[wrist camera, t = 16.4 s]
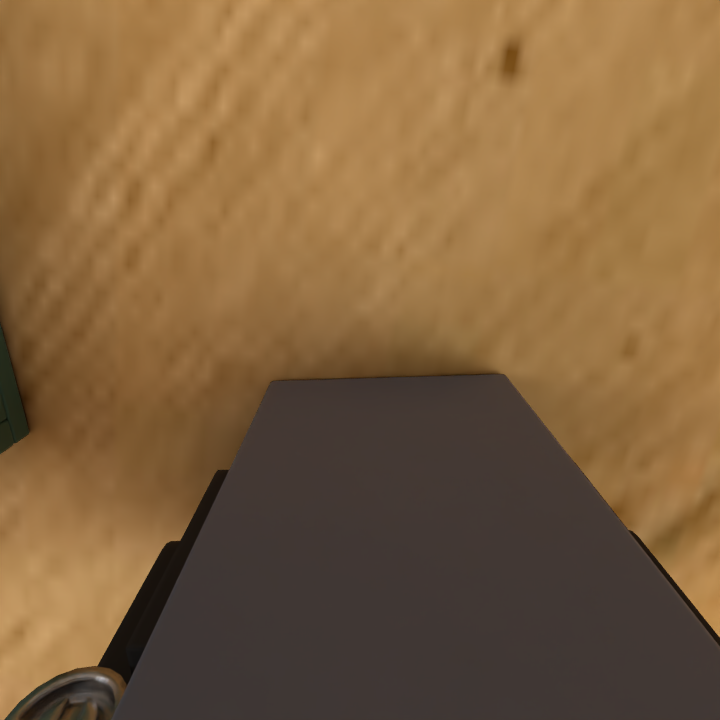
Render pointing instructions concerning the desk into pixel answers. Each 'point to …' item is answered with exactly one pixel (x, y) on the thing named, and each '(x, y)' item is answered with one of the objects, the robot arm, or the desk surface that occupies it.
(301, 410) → the block
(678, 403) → the desk surface
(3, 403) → the green tray
